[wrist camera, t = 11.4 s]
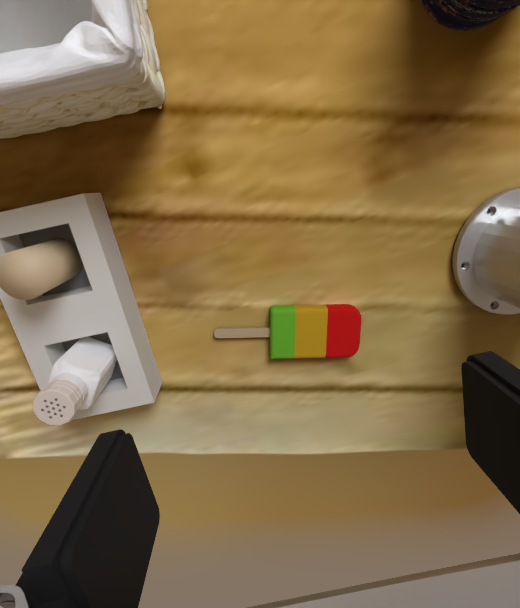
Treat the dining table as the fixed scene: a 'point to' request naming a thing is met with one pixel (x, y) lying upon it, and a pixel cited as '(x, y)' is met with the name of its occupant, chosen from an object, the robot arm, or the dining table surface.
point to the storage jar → (467, 12)
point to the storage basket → (75, 63)
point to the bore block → (74, 295)
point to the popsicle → (306, 331)
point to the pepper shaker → (75, 381)
